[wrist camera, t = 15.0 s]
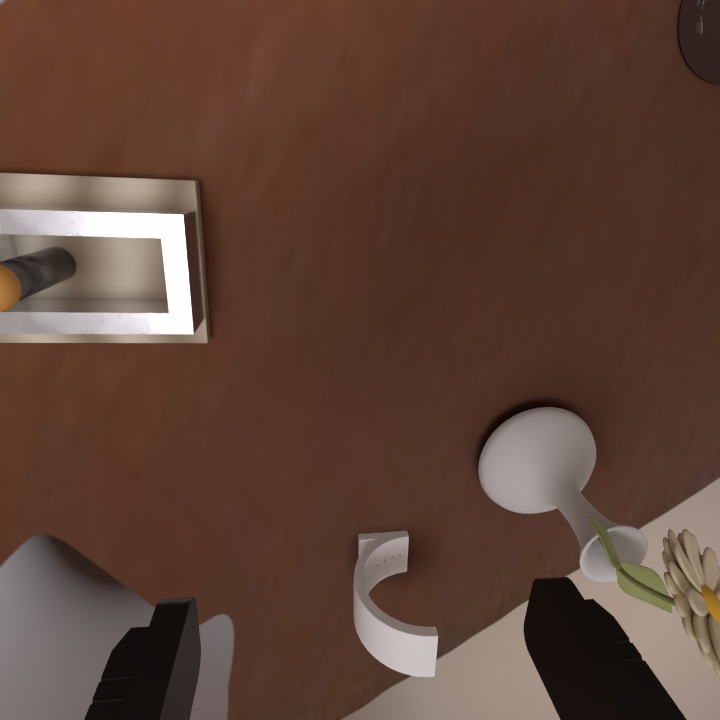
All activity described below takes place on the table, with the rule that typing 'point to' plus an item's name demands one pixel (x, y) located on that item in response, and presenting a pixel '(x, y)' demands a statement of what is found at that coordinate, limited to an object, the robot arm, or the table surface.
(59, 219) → the steel link
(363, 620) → the headphone stand
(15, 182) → the beige plate with rod
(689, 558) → the flower in vase
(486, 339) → the table surface
